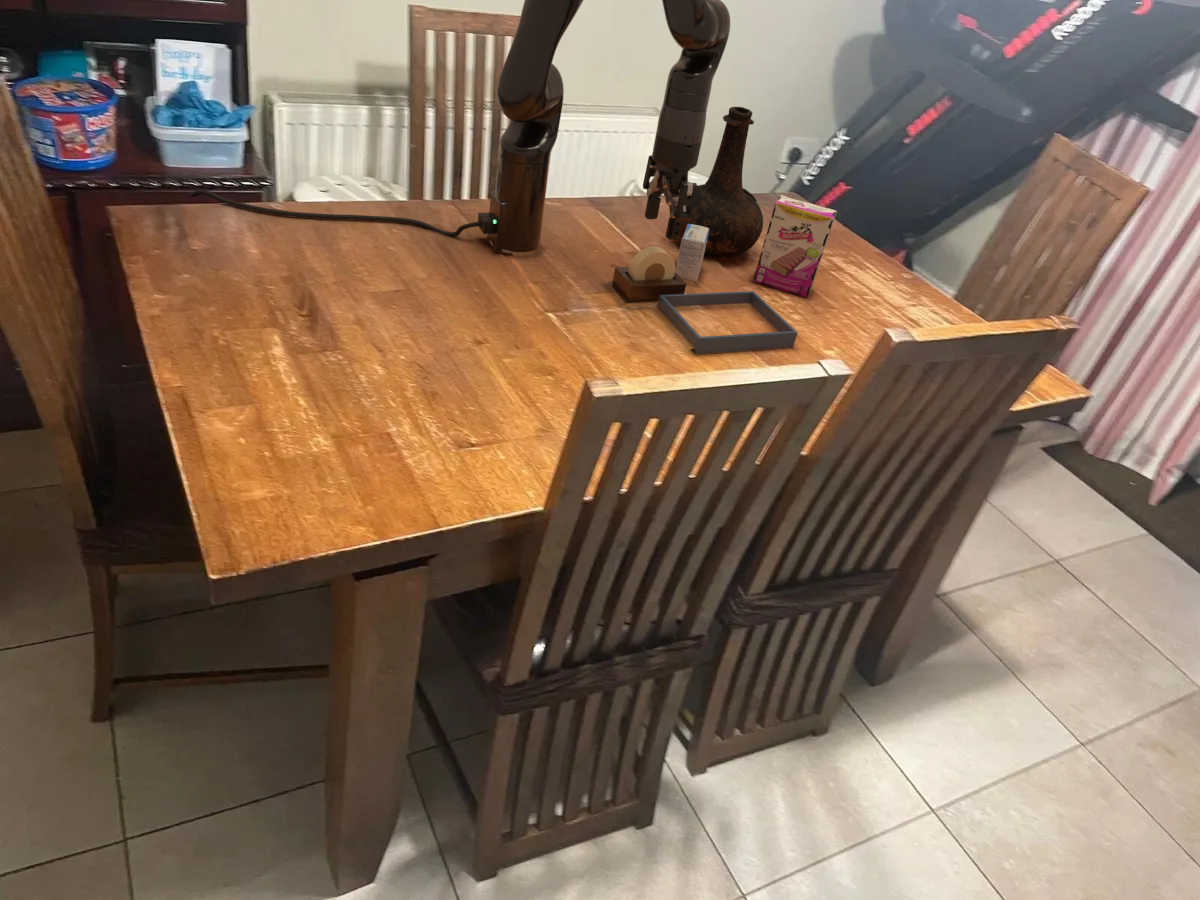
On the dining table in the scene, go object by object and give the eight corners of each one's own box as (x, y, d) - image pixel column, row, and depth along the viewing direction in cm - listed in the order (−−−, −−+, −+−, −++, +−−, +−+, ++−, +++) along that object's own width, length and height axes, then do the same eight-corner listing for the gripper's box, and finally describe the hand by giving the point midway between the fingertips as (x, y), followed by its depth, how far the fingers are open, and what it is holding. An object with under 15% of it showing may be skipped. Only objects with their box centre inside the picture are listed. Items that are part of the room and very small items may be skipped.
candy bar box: (751, 283, 177) (774, 201, 167) (756, 273, 181) (779, 193, 171) (808, 299, 175) (834, 217, 165) (812, 289, 179) (837, 209, 169)
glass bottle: (771, 262, 186) (810, 123, 170) (704, 273, 177) (740, 127, 161) (715, 227, 198) (747, 93, 181) (650, 236, 188) (677, 95, 172)
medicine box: (695, 286, 172) (706, 242, 167) (672, 280, 172) (682, 237, 167) (700, 269, 178) (710, 227, 173) (678, 264, 178) (687, 222, 173)
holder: (687, 305, 164) (691, 285, 162) (624, 308, 159) (628, 287, 157) (667, 284, 170) (671, 264, 168) (606, 286, 166) (609, 265, 163)
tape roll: (670, 293, 165) (679, 251, 160) (630, 294, 162) (638, 252, 157) (664, 286, 167) (673, 245, 162) (624, 288, 164) (632, 246, 159)
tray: (695, 354, 150) (699, 338, 148) (656, 310, 161) (659, 294, 159) (793, 347, 157) (797, 332, 156) (749, 305, 168) (753, 291, 167)
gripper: (640, 118, 152) (624, 212, 161) (678, 148, 142) (659, 246, 151) (680, 120, 155) (662, 212, 164) (720, 149, 145) (699, 245, 154)
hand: (661, 228), depth 158 cm, fingers open, 8 cm apart
